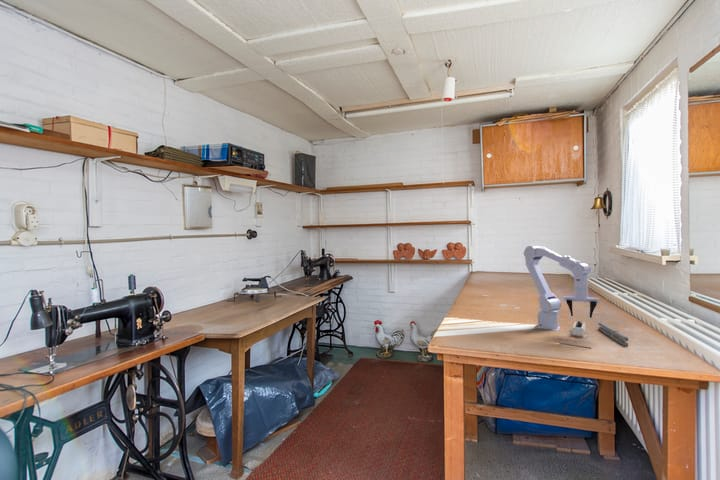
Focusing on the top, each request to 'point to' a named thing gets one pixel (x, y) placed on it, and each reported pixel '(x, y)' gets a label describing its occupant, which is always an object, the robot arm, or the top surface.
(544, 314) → the robot arm
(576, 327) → the steel link
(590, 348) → the rubber mat
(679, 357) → the top surface
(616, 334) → the metal rod assembly
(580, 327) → the post stand
